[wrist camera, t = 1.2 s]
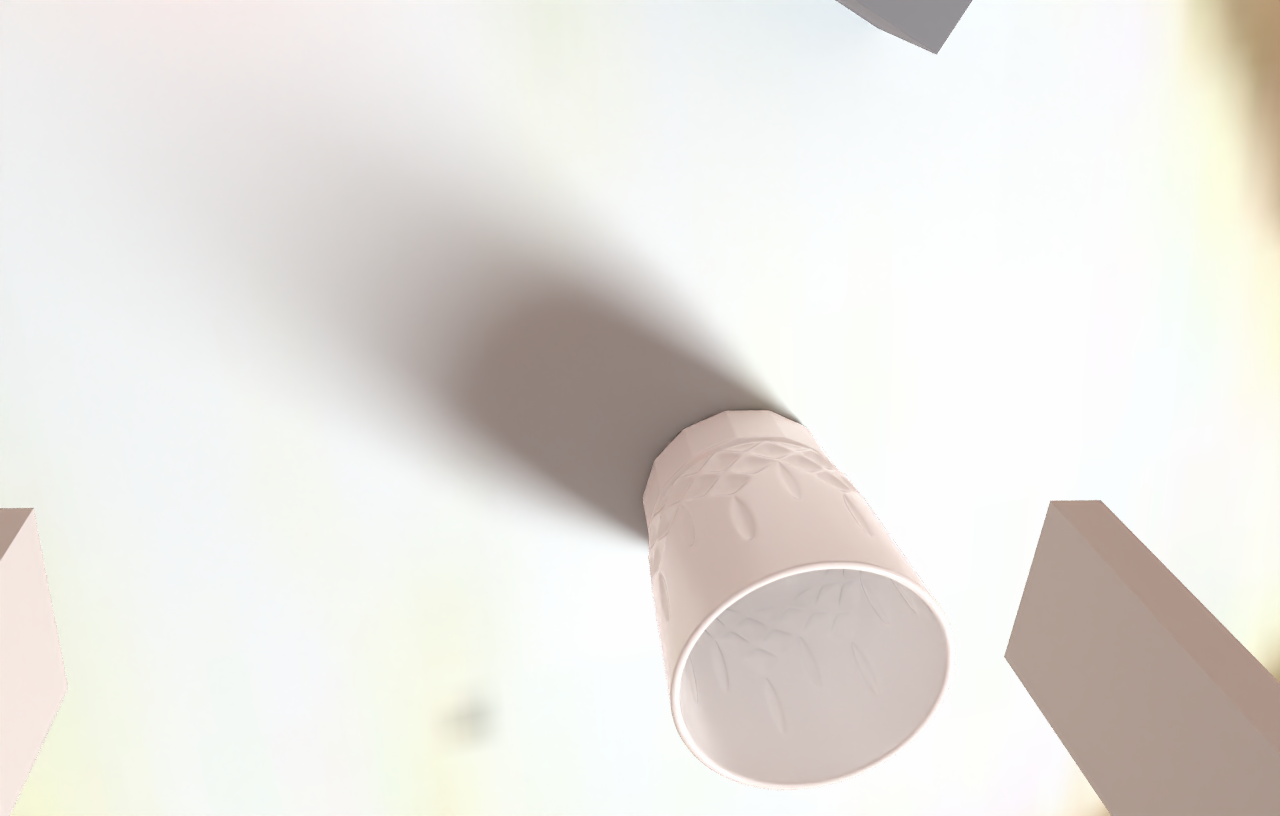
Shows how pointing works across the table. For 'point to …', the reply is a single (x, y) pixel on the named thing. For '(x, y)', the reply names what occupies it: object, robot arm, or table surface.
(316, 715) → the table surface
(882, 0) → the grey block
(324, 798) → the table surface
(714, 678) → the white cup
